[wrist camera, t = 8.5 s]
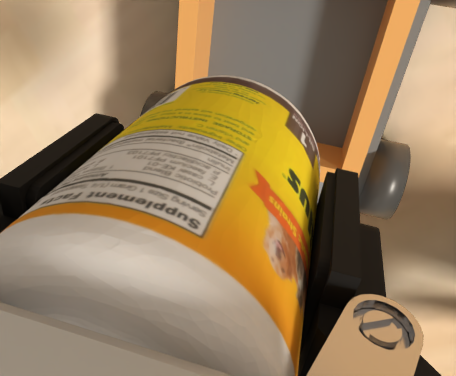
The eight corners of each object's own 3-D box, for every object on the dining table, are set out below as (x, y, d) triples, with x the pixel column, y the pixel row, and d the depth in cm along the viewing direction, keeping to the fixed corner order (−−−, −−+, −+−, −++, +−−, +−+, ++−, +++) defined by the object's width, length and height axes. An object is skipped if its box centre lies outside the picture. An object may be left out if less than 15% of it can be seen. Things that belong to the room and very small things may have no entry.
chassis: (376, 204, 30) (382, 261, 25) (163, 154, 33) (127, 196, 28) (508, -131, 20) (568, -158, 14) (176, -169, 22) (119, -204, 17)
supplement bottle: (303, 243, 14) (230, 712, 6) (151, 207, 15) (-112, 562, 6) (345, 86, 11) (324, 587, 2) (151, 52, 12) (-350, 337, 3)
